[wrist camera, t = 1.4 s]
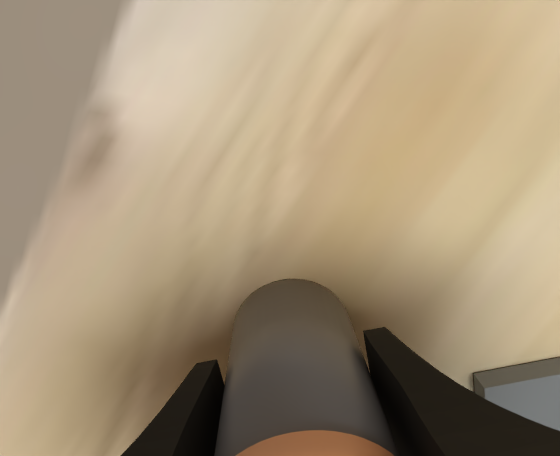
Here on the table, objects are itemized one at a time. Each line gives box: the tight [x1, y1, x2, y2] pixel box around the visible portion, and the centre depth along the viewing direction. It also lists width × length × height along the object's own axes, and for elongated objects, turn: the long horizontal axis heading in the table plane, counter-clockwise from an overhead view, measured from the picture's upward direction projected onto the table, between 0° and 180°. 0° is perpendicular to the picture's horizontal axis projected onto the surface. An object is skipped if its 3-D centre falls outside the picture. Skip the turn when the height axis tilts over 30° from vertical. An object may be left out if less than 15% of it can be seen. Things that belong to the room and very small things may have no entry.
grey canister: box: [214, 279, 400, 456], centre depth 11 cm, size 4×4×8 cm
